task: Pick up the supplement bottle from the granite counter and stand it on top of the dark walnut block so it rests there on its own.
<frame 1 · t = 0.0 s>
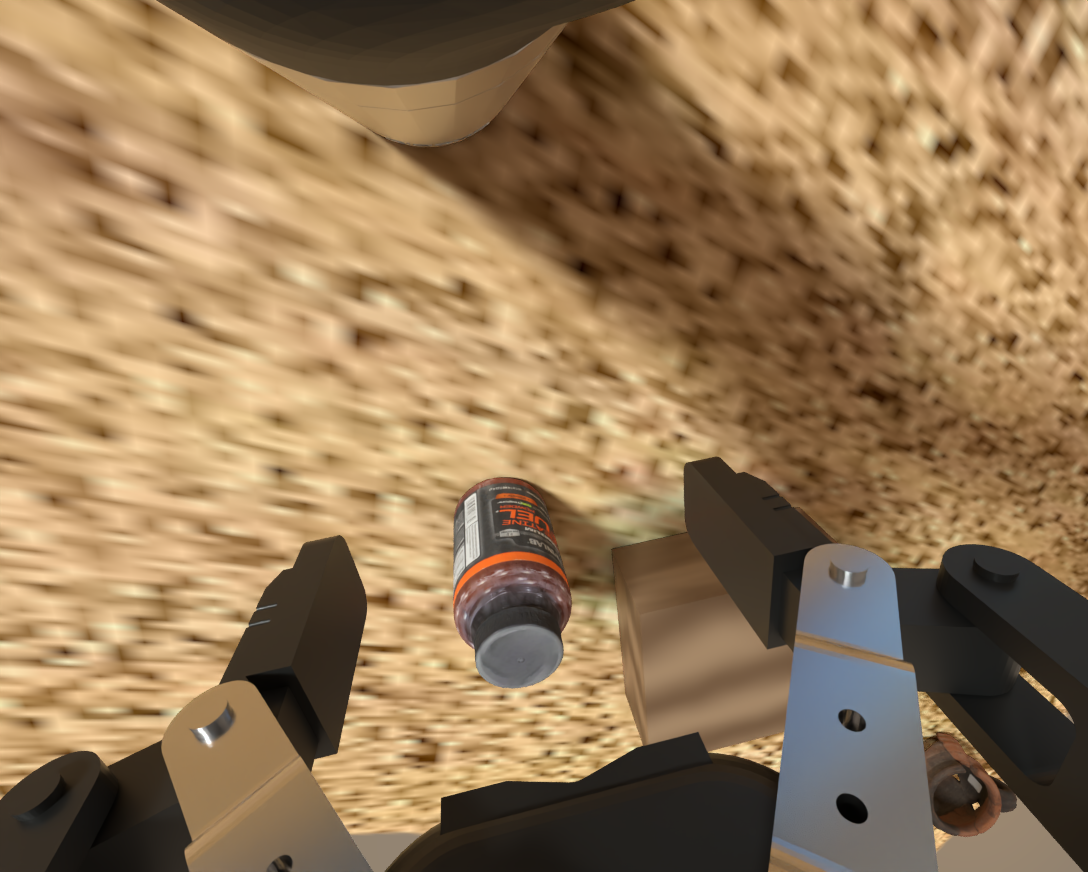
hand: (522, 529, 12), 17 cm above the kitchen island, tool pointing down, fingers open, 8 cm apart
supplement bottle: (499, 510, 33), on the kitchen island
pottery mug: (927, 754, 57), on the kitchen island
walnut block: (705, 608, 40), on the kitchen island
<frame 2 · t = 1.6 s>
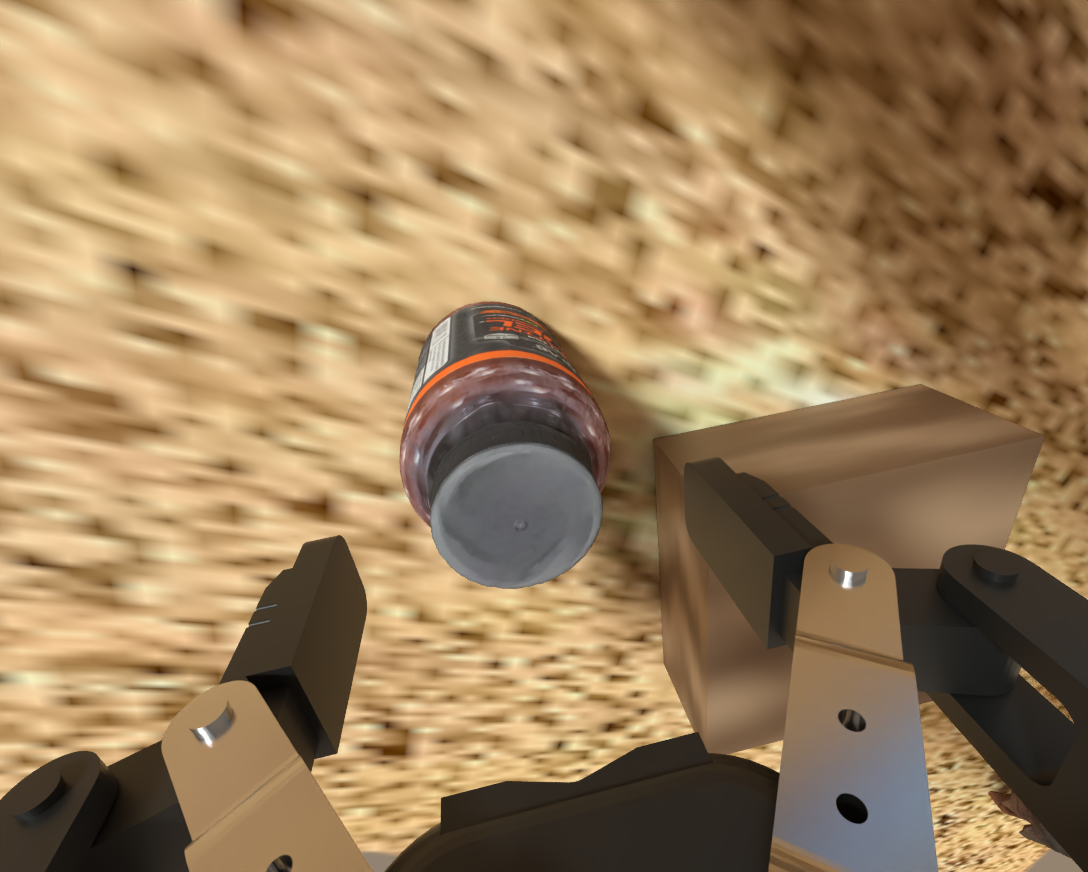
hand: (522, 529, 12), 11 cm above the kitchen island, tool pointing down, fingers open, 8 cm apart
supplement bottle: (489, 366, 22), on the kitchen island
pottery mug: (1026, 756, 46), on the kitchen island
walnut block: (778, 538, 28), on the kitchen island
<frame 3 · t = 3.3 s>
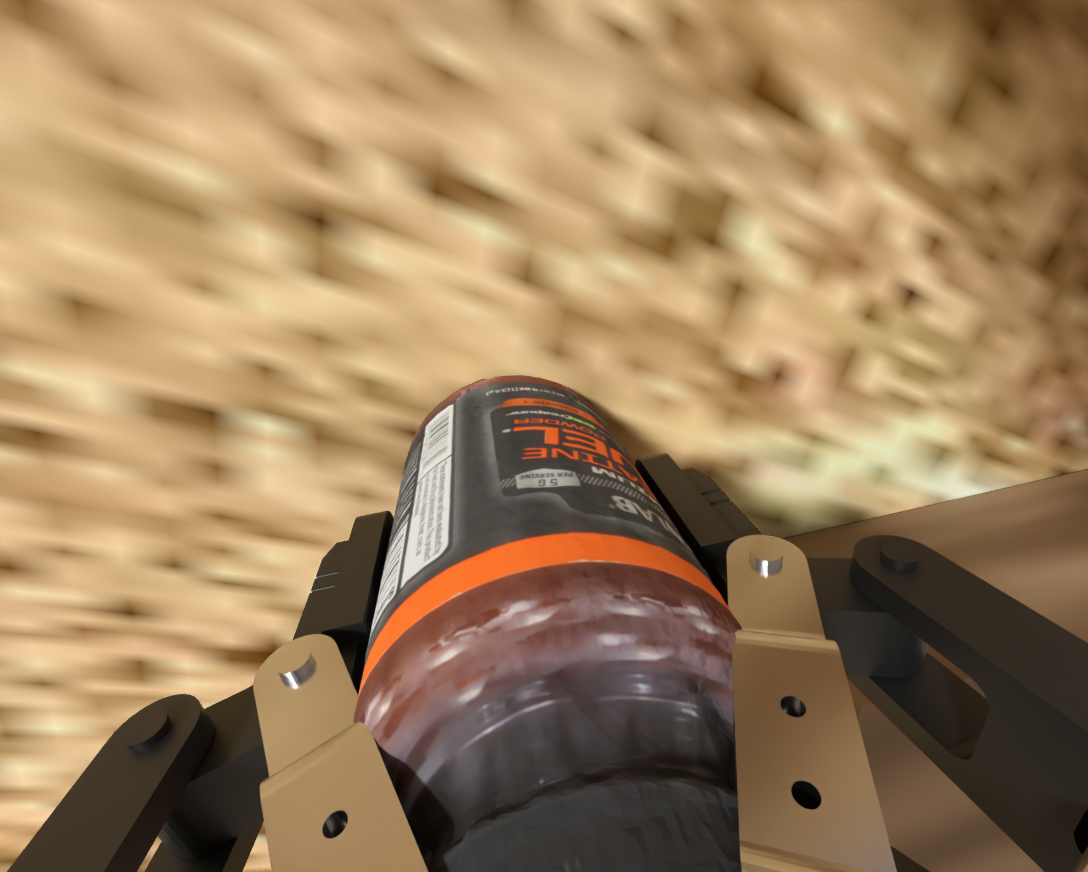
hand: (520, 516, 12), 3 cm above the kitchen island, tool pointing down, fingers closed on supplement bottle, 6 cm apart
supplement bottle: (510, 462, 15), on the kitchen island, touching gripper
walnut block: (887, 662, 21), on the kitchen island
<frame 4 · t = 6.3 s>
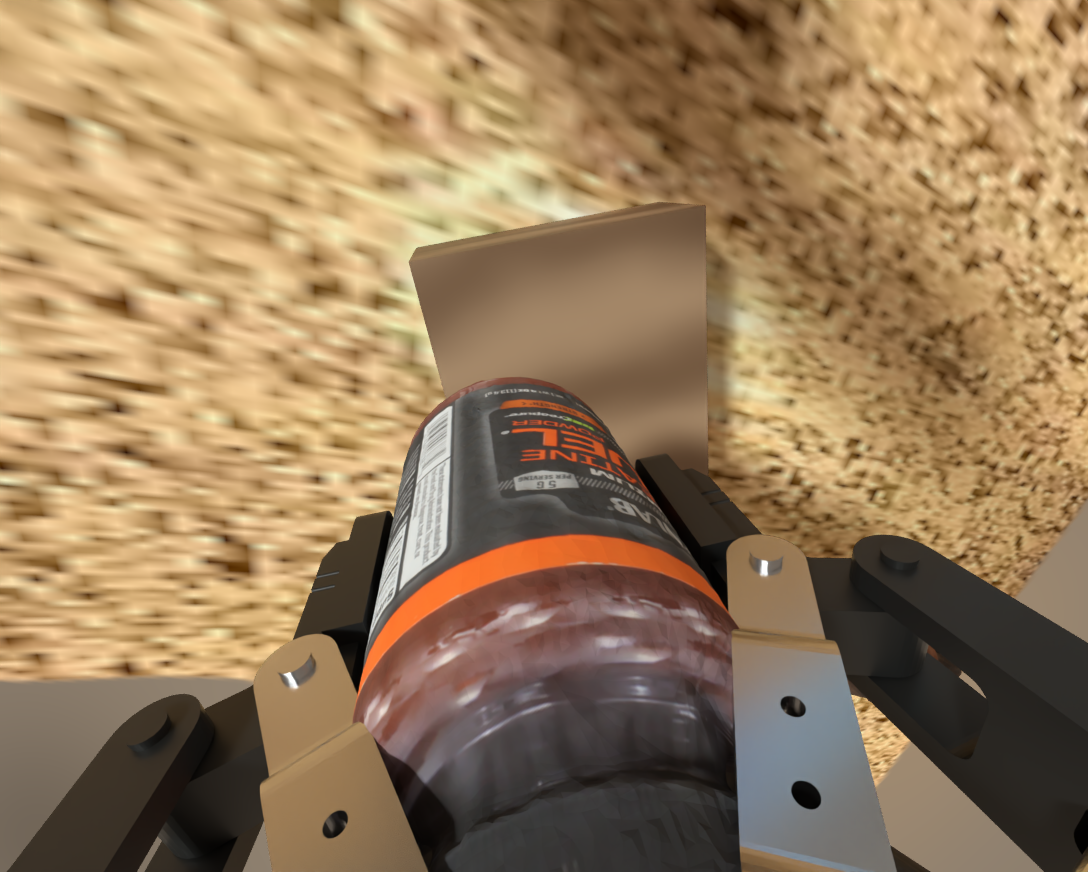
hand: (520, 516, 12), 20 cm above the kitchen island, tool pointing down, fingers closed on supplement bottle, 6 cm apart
supplement bottle: (509, 463, 15), point 17 cm above the kitchen island, touching gripper
pottery mug: (862, 628, 50), on the kitchen island
walnut block: (560, 358, 32), on the kitchen island
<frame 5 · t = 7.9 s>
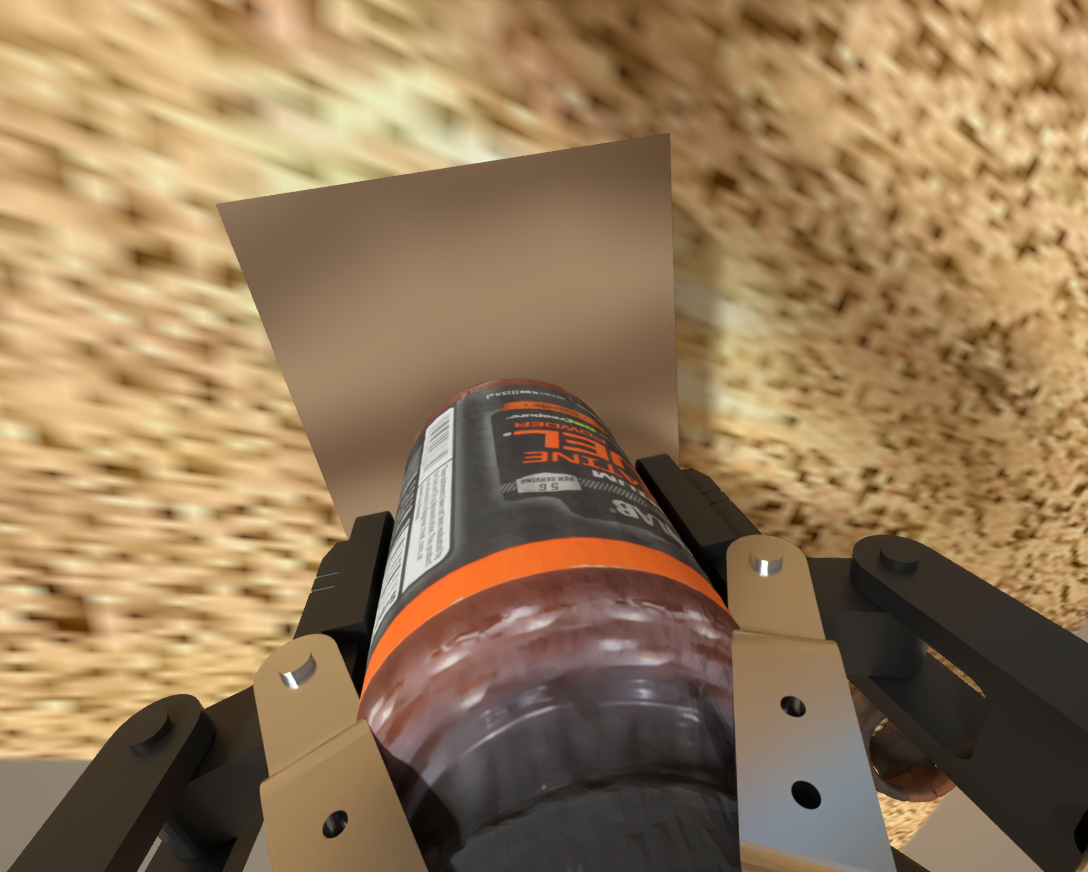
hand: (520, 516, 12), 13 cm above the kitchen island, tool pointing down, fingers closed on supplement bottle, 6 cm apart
supplement bottle: (510, 464, 15), point 11 cm above the kitchen island, touching gripper
pottery mug: (872, 696, 42), on the kitchen island
walnut block: (488, 360, 24), on the kitchen island
when the fingers open (10 cm above the kitchen island, at t = 9.5 s): supplement bottle drops 1 cm, resting on walnut block.
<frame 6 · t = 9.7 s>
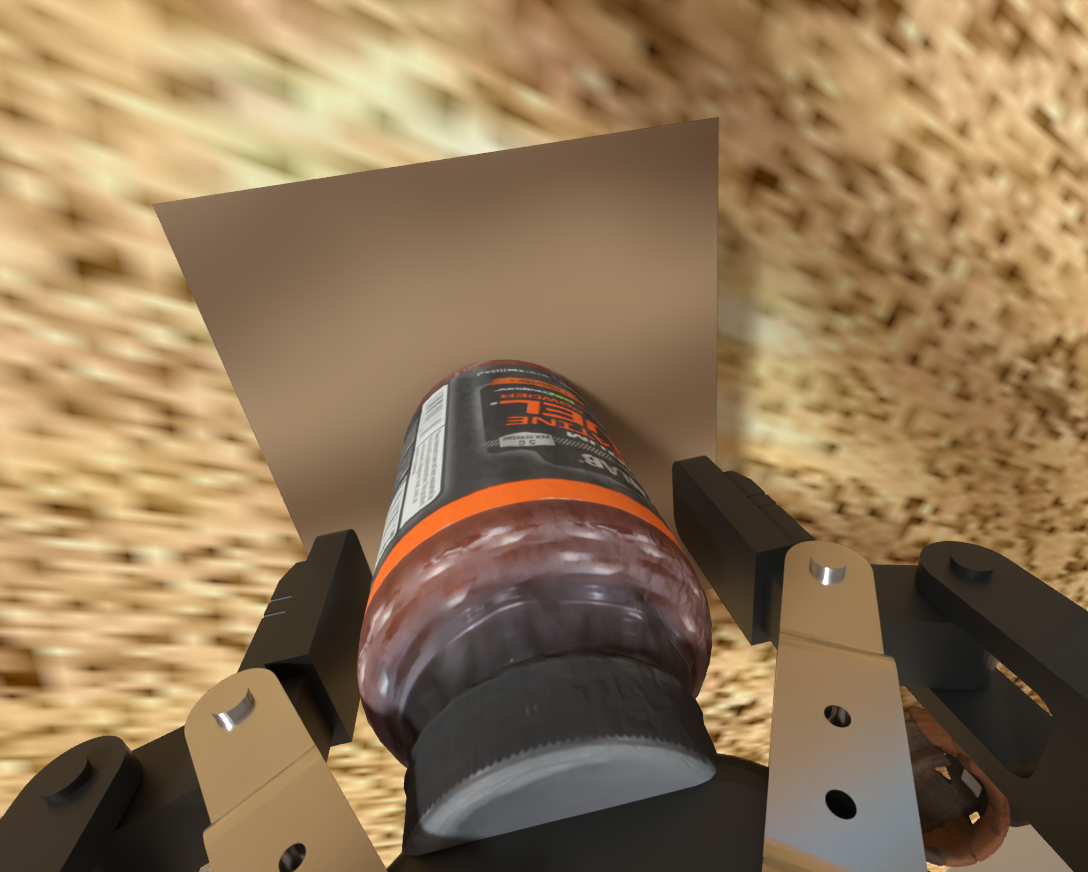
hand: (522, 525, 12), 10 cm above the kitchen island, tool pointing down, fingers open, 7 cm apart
supplement bottle: (501, 441, 16), point 6 cm above the kitchen island, touching walnut block
pottery mug: (900, 741, 39), on the kitchen island
walnut block: (492, 383, 21), on the kitchen island
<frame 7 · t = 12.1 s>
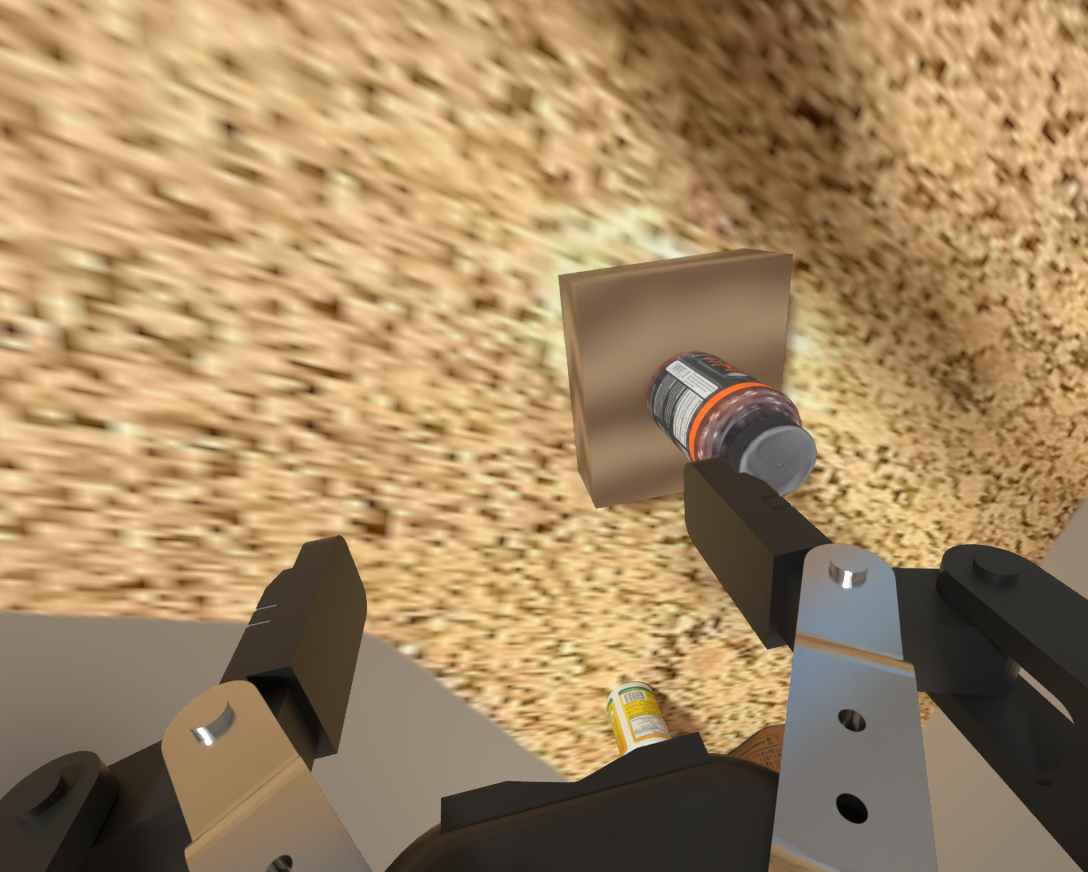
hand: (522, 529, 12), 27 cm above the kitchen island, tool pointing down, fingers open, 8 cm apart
supplement bottle: (683, 389, 35), point 6 cm above the kitchen island, touching walnut block
supplement bottle 2: (628, 696, 55), on the kitchen island
walnut block: (655, 367, 40), on the kitchen island
pancake mix bag: (734, 756, 63), on the kitchen island
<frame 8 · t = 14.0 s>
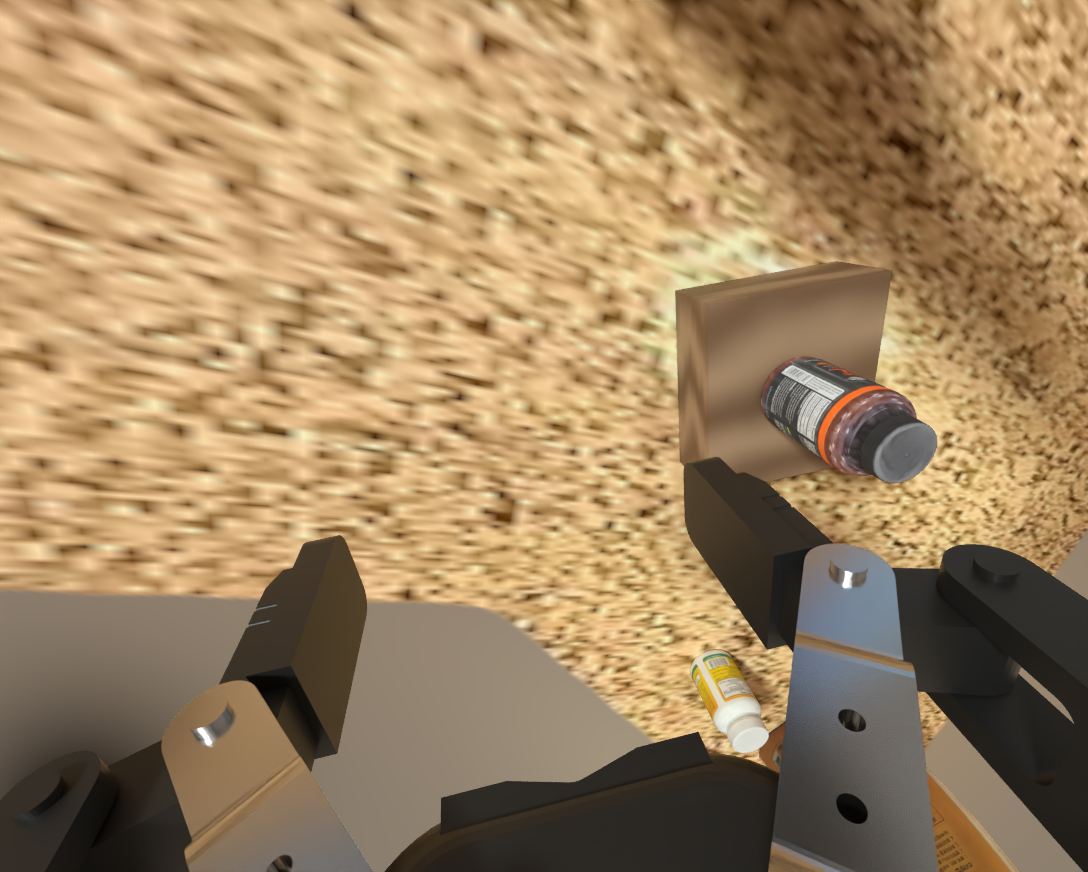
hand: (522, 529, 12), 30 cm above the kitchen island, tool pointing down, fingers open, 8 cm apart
supplement bottle: (790, 389, 40), point 6 cm above the kitchen island, touching walnut block
supplement bottle 2: (708, 663, 61), on the kitchen island
walnut block: (753, 368, 45), on the kitchen island
pancake mix bag: (799, 716, 69), on the kitchen island
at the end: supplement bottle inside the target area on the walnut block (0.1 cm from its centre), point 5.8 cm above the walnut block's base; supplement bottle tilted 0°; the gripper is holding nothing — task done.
